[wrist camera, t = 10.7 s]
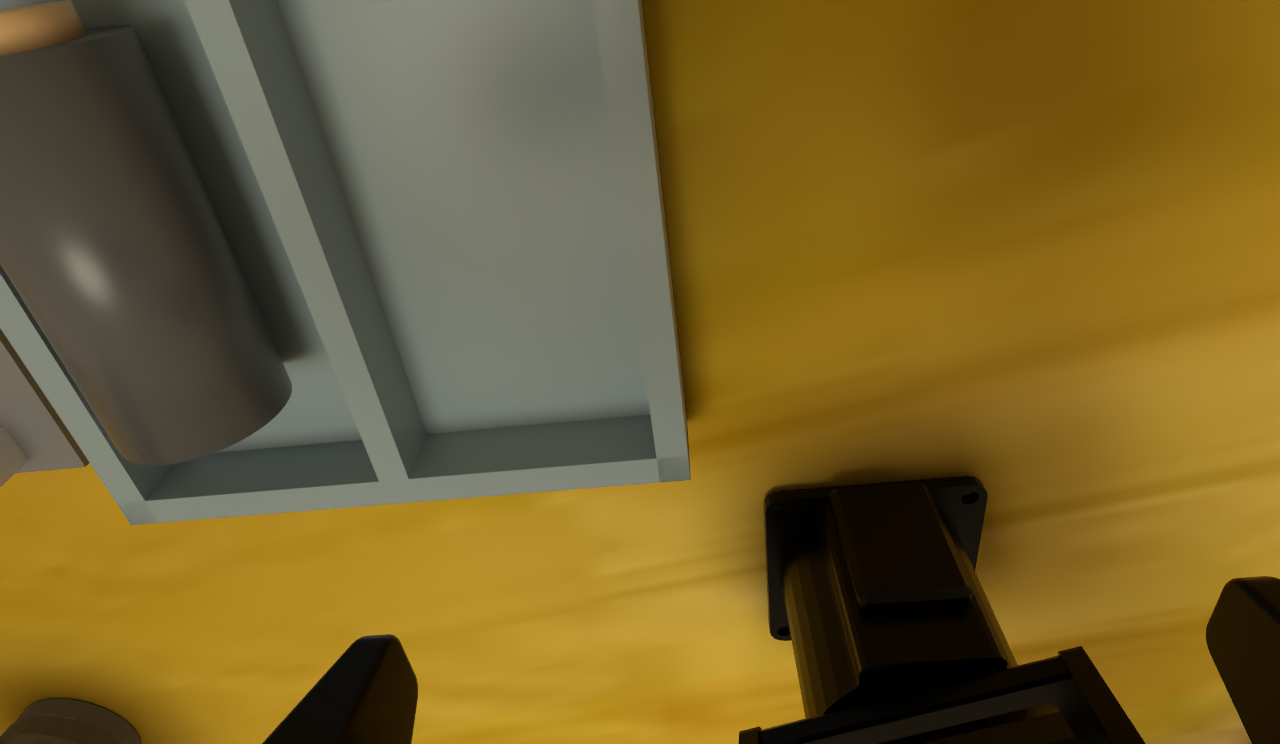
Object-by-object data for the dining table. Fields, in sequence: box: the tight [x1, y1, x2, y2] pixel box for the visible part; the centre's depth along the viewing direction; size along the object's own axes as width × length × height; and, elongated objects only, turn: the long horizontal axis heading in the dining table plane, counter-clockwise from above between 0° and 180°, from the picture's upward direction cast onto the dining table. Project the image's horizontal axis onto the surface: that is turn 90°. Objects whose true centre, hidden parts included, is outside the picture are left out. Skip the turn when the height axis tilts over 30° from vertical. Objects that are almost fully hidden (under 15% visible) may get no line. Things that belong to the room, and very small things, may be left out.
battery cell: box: [0, 0, 292, 465], centre depth 16 cm, size 9×4×4 cm, turn 7°
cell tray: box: [0, 0, 691, 525], centre depth 17 cm, size 16×15×2 cm
